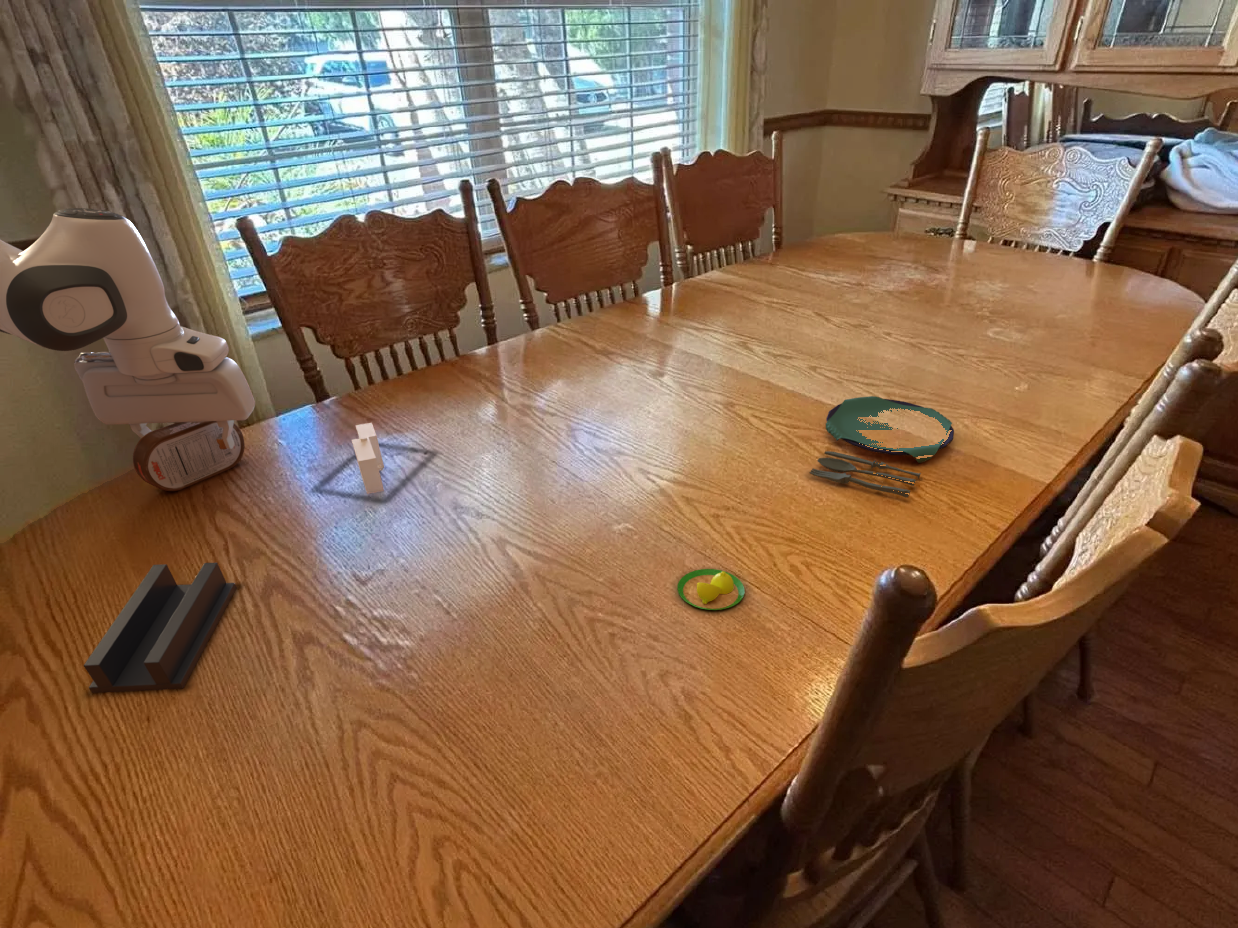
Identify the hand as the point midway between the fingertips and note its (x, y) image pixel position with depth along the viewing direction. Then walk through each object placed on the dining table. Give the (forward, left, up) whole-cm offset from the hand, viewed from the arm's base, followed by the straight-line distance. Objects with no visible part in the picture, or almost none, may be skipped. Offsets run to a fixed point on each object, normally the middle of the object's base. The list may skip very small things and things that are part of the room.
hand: (193, 448), depth 105 cm
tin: (-1, 0, -5) cm, 5 cm away
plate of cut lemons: (+69, -32, -5) cm, 77 cm away
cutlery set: (+101, +3, -5) cm, 102 cm away
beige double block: (+24, 0, -5) cm, 25 cm away
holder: (+8, -36, -5) cm, 37 cm away
